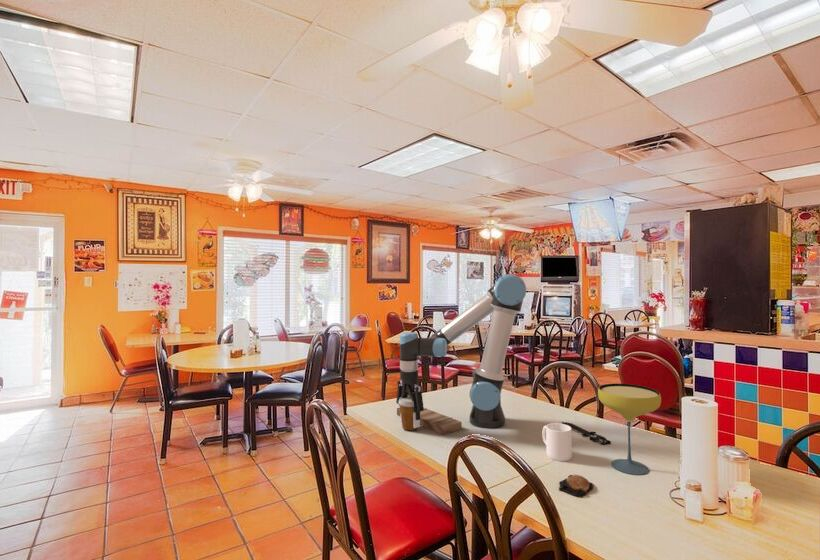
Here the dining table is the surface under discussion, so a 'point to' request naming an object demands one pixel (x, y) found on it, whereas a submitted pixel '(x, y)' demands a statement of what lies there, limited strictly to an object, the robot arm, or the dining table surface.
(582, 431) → the knife
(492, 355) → the robot arm
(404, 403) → the disposable coffee cup
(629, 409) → the cocktail glass
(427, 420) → the walnut board
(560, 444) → the cup
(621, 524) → the dining table surface
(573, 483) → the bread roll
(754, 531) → the dining table surface
